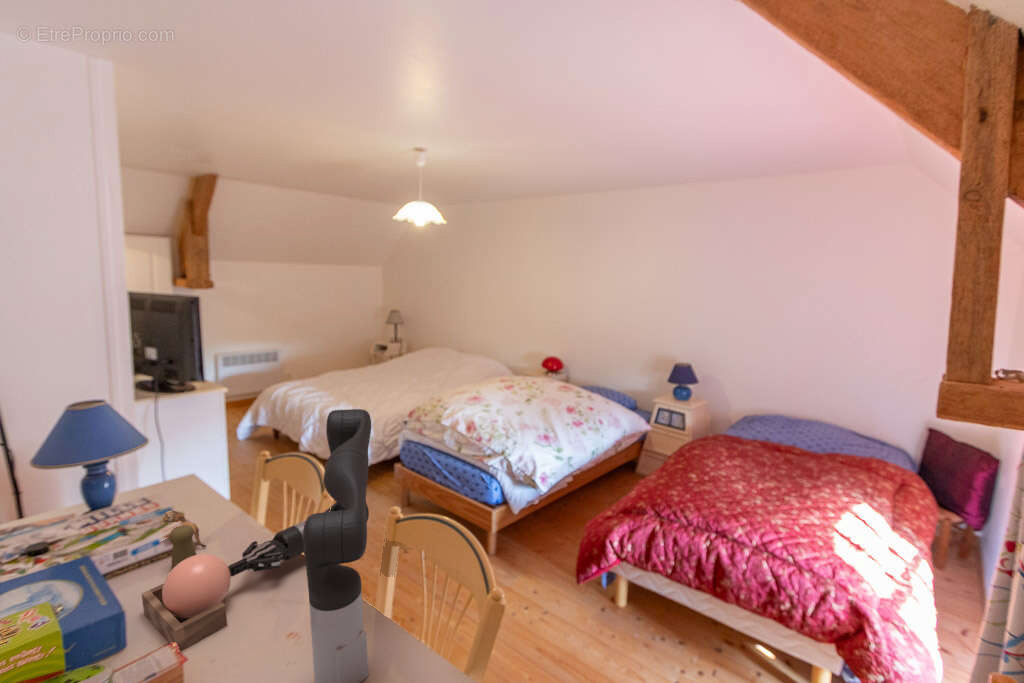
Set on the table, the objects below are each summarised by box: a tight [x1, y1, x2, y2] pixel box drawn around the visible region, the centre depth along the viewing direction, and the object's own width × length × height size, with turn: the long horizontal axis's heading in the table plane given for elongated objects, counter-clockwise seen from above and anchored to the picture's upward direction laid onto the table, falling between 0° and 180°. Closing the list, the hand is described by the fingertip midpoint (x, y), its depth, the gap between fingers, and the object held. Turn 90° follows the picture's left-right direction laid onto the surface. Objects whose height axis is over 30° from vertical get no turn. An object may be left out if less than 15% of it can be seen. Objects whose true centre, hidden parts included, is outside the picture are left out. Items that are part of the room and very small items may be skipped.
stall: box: [141, 583, 228, 652], centre depth 107 cm, size 19×10×5 cm, turn 54°
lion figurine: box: [158, 510, 207, 551], centre depth 136 cm, size 15×5×9 cm, turn 72°
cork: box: [168, 525, 197, 571], centre depth 125 cm, size 6×6×11 cm
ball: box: [162, 553, 232, 619], centre depth 109 cm, size 13×13×13 cm
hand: (228, 571), depth 114 cm, fingers closed
